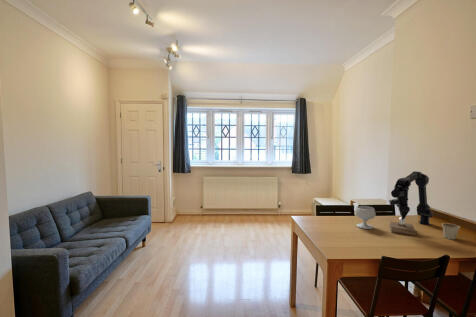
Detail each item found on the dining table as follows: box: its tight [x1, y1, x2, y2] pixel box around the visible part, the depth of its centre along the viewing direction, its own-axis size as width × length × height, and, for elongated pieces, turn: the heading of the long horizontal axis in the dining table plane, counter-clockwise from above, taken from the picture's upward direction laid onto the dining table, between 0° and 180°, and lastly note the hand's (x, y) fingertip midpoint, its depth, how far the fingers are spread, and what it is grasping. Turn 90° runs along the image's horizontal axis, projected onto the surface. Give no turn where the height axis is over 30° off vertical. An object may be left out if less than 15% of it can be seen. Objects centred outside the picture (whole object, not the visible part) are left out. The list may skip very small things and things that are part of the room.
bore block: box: [389, 220, 417, 237], centre depth 177 cm, size 14×14×4 cm
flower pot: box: [441, 222, 461, 240], centre depth 163 cm, size 9×9×9 cm
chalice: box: [354, 205, 377, 230], centre depth 186 cm, size 14×14×15 cm
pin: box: [399, 216, 406, 227], centre depth 176 cm, size 3×3×9 cm
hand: (402, 217), depth 176 cm, fingers open, 9 cm apart
